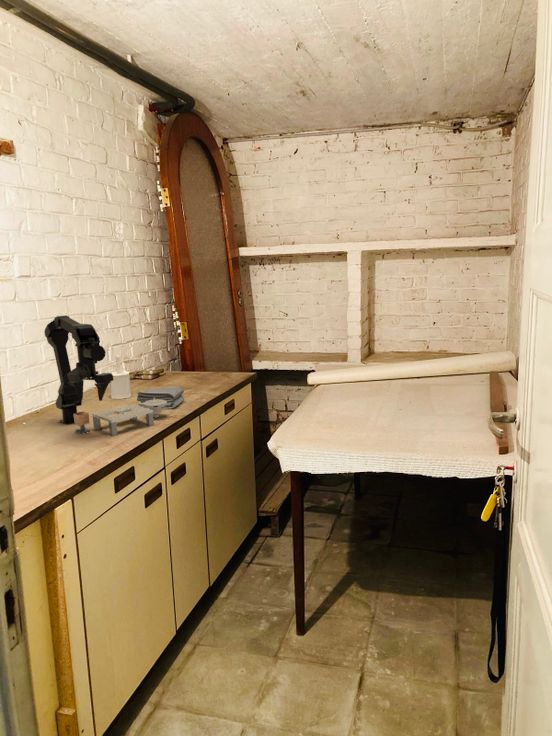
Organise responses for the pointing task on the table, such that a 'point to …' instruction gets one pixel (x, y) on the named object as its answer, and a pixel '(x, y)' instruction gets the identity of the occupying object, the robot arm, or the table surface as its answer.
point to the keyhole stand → (122, 416)
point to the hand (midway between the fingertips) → (90, 400)
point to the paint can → (120, 382)
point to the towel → (162, 396)
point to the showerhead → (155, 406)
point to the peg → (81, 421)
